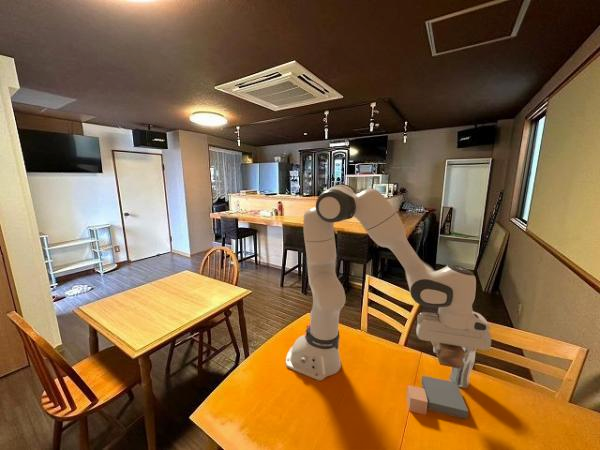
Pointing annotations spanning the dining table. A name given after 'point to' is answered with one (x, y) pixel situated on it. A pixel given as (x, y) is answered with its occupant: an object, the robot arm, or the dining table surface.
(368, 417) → the dining table surface
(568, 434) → the dining table surface
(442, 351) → the walnut cube
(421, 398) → the terracotta cube
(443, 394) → the plinth
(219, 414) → the dining table surface
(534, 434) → the dining table surface
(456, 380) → the beer glass
